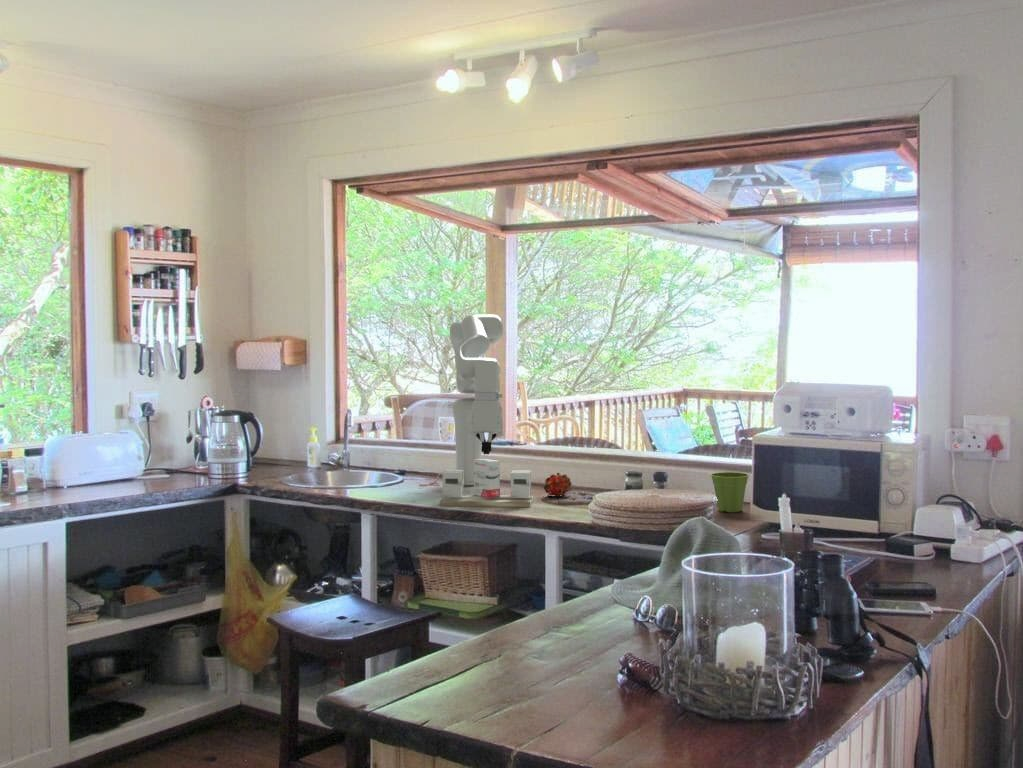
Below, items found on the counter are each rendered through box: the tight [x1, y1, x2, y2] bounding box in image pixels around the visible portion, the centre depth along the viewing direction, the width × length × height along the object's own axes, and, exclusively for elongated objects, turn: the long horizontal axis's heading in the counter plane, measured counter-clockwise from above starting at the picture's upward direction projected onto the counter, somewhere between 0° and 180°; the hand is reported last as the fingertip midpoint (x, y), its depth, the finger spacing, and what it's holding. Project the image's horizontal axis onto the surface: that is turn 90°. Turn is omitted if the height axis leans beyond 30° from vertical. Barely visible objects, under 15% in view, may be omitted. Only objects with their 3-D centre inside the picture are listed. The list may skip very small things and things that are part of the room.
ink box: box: [473, 458, 501, 498], centre depth 312 cm, size 8×5×12 cm, turn 36°
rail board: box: [439, 469, 534, 508], centre depth 311 cm, size 12×29×10 cm, turn 85°
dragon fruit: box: [543, 472, 572, 497], centre depth 324 cm, size 8×8×12 cm
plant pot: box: [709, 471, 750, 513], centre depth 295 cm, size 12×12×11 cm
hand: (486, 453), depth 311 cm, fingers closed
